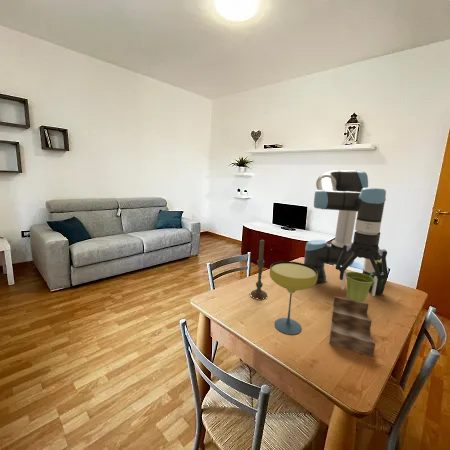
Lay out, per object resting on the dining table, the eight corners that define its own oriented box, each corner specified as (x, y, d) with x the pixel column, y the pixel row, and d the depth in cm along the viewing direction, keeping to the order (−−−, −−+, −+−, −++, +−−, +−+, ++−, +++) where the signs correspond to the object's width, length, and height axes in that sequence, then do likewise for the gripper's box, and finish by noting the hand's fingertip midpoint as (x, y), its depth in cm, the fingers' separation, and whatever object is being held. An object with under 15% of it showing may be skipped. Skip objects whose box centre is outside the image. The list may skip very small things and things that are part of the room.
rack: (329, 343, 90) (331, 331, 89) (333, 305, 116) (334, 296, 115) (372, 356, 84) (375, 343, 83) (366, 314, 110) (368, 303, 109)
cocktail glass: (304, 347, 87) (311, 283, 82) (258, 329, 96) (262, 271, 91) (315, 322, 102) (322, 267, 97) (274, 309, 111) (279, 258, 106)
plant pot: (363, 293, 94) (366, 272, 92) (375, 306, 85) (379, 283, 83) (338, 291, 95) (341, 270, 93) (348, 303, 86) (351, 281, 84)
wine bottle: (359, 274, 156) (366, 229, 149) (371, 274, 156) (378, 229, 150) (367, 279, 147) (375, 232, 141) (380, 279, 148) (388, 232, 142)
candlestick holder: (247, 297, 121) (250, 239, 115) (252, 289, 130) (255, 235, 124) (265, 301, 118) (269, 242, 112) (269, 293, 126) (273, 238, 120)
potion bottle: (385, 292, 131) (391, 261, 128) (382, 297, 126) (388, 265, 122) (368, 287, 137) (373, 257, 133) (365, 292, 131) (370, 261, 127)
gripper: (332, 230, 86) (324, 288, 91) (407, 239, 77) (394, 303, 81) (333, 226, 93) (326, 280, 97) (402, 234, 83) (391, 293, 88)
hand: (357, 290), depth 89 cm, fingers closed on plant pot, 9 cm apart
